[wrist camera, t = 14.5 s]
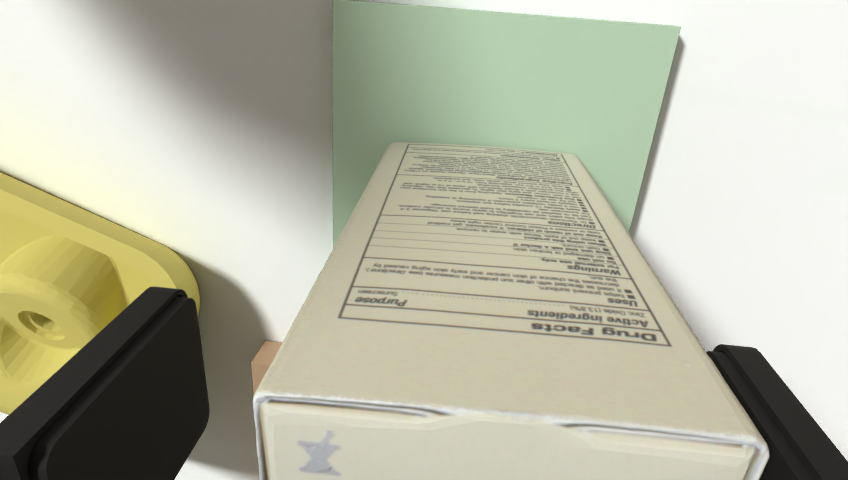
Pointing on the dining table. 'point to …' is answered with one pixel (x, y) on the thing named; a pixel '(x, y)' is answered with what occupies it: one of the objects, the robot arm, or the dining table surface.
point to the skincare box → (494, 339)
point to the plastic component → (66, 282)
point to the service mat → (495, 90)
